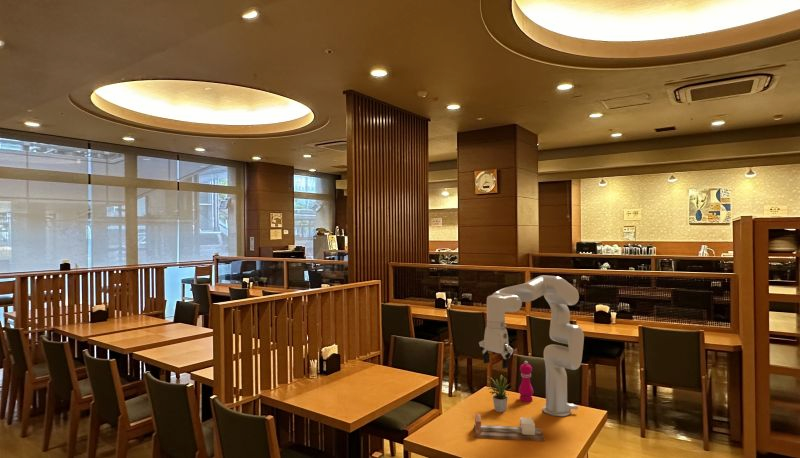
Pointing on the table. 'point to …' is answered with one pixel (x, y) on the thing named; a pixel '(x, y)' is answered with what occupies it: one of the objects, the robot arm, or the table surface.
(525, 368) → the pepper mill
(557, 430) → the table surface
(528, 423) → the block
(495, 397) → the house plant
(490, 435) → the rail board
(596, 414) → the table surface
